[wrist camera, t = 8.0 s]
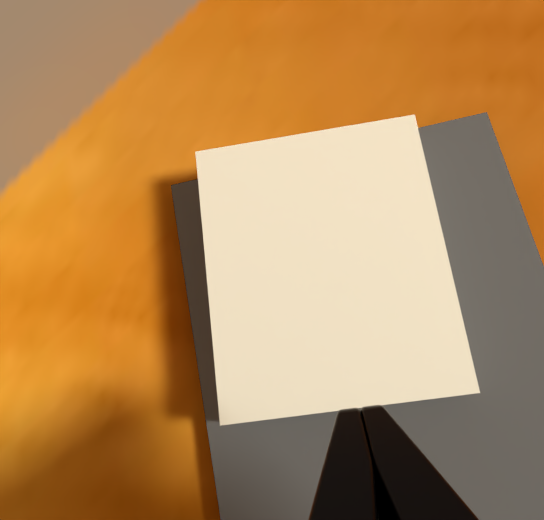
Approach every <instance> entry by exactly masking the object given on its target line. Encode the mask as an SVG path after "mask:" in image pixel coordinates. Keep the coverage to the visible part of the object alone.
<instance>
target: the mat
mask: <svg viewBox="0 0 544 520" xmlns="http://www.w3.org/2000/svg"><path fill="white" fill-rule="evenodd" d="M418 131H419V135H420V139H421V143H422V148H423V152H424V156H425V160H426V165H427V169H428V173H429V177H430V182H431V186H432V190H433V194H434V199H435V203H436V207H437V211H438V216H439V220H440V224H441V228H442V233H443V237H444V241H445V245H446V250H447V254H448V258H449V262H450V267H451V271H452V275H453V279H454V284H455V288H456V292H457V296H458V301H459V305H460V309H461V313H462V318H463V322H464V326H465V330H466V335H467V339H468V343H469V347H470V352H471V356H472V360H473V364H474V369H475V373H476V377H477V381H478V386H479V390H480V393H475V394H468V395H460V396H452V397H444V398H436V399H428V400H420V401H412V402H404V403H396V404H388V405H381V406H383V407H384V408H385V409H386V410H387V411H388V412H389V414H390V415H391V416H392V417H393V418H394V420H395V421H396V422H397V423H398V424H399V425H400V427H401V428H402V429H403V430H404V431H405V433H406V434H407V435H408V436H409V437H410V438H411V440H412V441H413V442H414V443H415V444H416V446H417V447H418V448H419V449H420V450H421V451H422V453H423V454H424V455H425V456H426V457H427V459H428V460H429V461H430V462H431V463H432V464H433V466H434V467H435V468H436V469H437V470H438V472H439V473H440V474H441V475H442V476H443V477H444V479H445V480H446V481H447V482H448V483H449V485H450V486H451V487H452V488H453V489H454V490H455V492H456V493H457V494H458V495H459V496H460V497H461V499H462V500H463V501H464V502H465V503H466V505H467V506H468V507H469V508H470V509H471V510H472V512H473V513H474V514H475V515H476V516H477V518H478V519H479V520H544V266H543V263H542V261H541V258H540V255H539V252H538V250H537V247H536V244H535V242H534V239H533V236H532V234H531V231H530V228H529V225H528V223H527V220H526V217H525V215H524V212H523V209H522V206H521V204H520V201H519V198H518V196H517V193H516V190H515V188H514V185H513V182H512V179H511V177H510V174H509V171H508V169H507V166H506V163H505V160H504V158H503V155H502V152H501V150H500V147H499V144H498V142H497V139H496V136H495V133H494V131H493V128H492V125H491V123H490V120H489V117H488V114H487V112H486V113H481V114H477V115H473V116H468V117H464V118H460V119H455V120H451V121H447V122H442V123H438V124H434V125H429V126H425V127H421V128H418ZM171 189H172V196H173V203H174V209H175V216H176V223H177V230H178V236H179V243H180V250H181V256H182V263H183V270H184V277H185V283H186V290H187V297H188V303H189V310H190V317H191V324H192V330H193V337H194V344H195V351H196V357H197V364H198V371H199V377H200V384H201V391H202V398H203V404H204V411H205V418H206V425H207V431H208V438H209V445H210V451H211V458H212V465H213V472H214V478H215V485H216V492H217V499H218V505H219V512H220V519H221V520H308V519H309V515H310V512H311V508H312V504H313V501H314V497H315V493H316V489H317V486H318V482H319V478H320V475H321V471H322V467H323V464H324V460H325V456H326V453H327V449H328V445H329V441H330V438H331V434H332V430H333V427H334V423H335V419H336V416H337V413H338V411H332V412H324V413H316V414H309V415H301V416H293V417H285V418H277V419H269V420H261V421H253V422H245V423H237V424H229V425H221V426H220V420H219V409H218V398H217V387H216V376H215V365H214V353H213V342H212V331H211V320H210V309H209V298H208V286H207V275H206V264H205V253H204V242H203V231H202V219H201V208H200V197H199V186H198V179H196V180H192V181H187V182H183V183H179V184H174V185H171ZM359 409H360V410H361V408H359Z"/></svg>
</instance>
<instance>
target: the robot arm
mask: <svg viewBox="0 0 544 520" xmlns="http://www.w3.org/2000/svg"><path fill="white" fill-rule="evenodd" d="M308 520H479V519H478V518H477V516H476V515H475V514H474V513H473V512H472V510H471V509H470V508H469V507H468V506H467V505H466V503H465V502H464V501H463V500H462V499H461V497H460V496H459V495H458V494H457V493H456V492H455V490H454V489H453V488H452V487H451V486H450V485H449V483H448V482H447V481H446V480H445V479H444V477H443V476H442V475H441V474H440V473H439V472H438V470H437V469H436V468H435V467H434V466H433V464H432V463H431V462H430V461H429V460H428V459H427V457H426V456H425V455H424V454H423V453H422V451H421V450H420V449H419V448H418V447H417V446H416V444H415V443H414V442H413V441H412V440H411V438H410V437H409V436H408V435H407V434H406V433H405V431H404V430H403V429H402V428H401V427H400V425H399V424H398V423H397V422H396V421H395V420H394V418H393V417H392V416H391V415H390V414H389V412H388V411H387V410H386V409H385V408H384V407H383V406H381V405H372V406H364V407H362V408H361V410H360V409H359V408H348V409H341V410H339V411H338V413H337V416H336V419H335V423H334V427H333V430H332V434H331V438H330V441H329V445H328V449H327V453H326V456H325V460H324V464H323V467H322V471H321V475H320V478H319V482H318V486H317V489H316V493H315V497H314V501H313V504H312V508H311V512H310V515H309V519H308Z"/></svg>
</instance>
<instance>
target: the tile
mask: <svg viewBox="0 0 544 520" xmlns="http://www.w3.org/2000/svg"><path fill="white" fill-rule="evenodd" d="M195 153H196V164H197V175H198V186H199V197H200V208H201V219H202V231H203V242H204V253H205V264H206V275H207V286H208V298H209V309H210V320H211V331H212V342H213V353H214V365H215V376H216V387H217V398H218V409H219V420H220V426H221V425H229V424H237V423H245V422H253V421H261V420H269V419H277V418H285V417H293V416H301V415H309V414H316V413H324V412H332V411H339V410H341V409H348V408H362V407H364V406H372V405H388V404H396V403H404V402H412V401H420V400H428V399H436V398H444V397H452V396H460V395H468V394H475V393H480V390H479V386H478V381H477V377H476V373H475V369H474V364H473V360H472V356H471V352H470V347H469V343H468V339H467V335H466V330H465V326H464V322H463V318H462V313H461V309H460V305H459V301H458V296H457V292H456V288H455V284H454V279H453V275H452V271H451V267H450V262H449V258H448V254H447V250H446V245H445V241H444V237H443V233H442V228H441V224H440V220H439V216H438V211H437V207H436V203H435V199H434V194H433V190H432V186H431V182H430V177H429V173H428V169H427V165H426V160H425V156H424V152H423V148H422V143H421V139H420V135H419V131H418V126H417V122H416V118H415V115H410V116H404V117H398V118H392V119H386V120H380V121H374V122H368V123H362V124H356V125H350V126H345V127H339V128H333V129H327V130H321V131H315V132H309V133H303V134H297V135H291V136H285V137H280V138H274V139H268V140H262V141H256V142H250V143H244V144H238V145H232V146H226V147H220V148H215V149H209V150H203V151H197V152H195Z"/></svg>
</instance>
